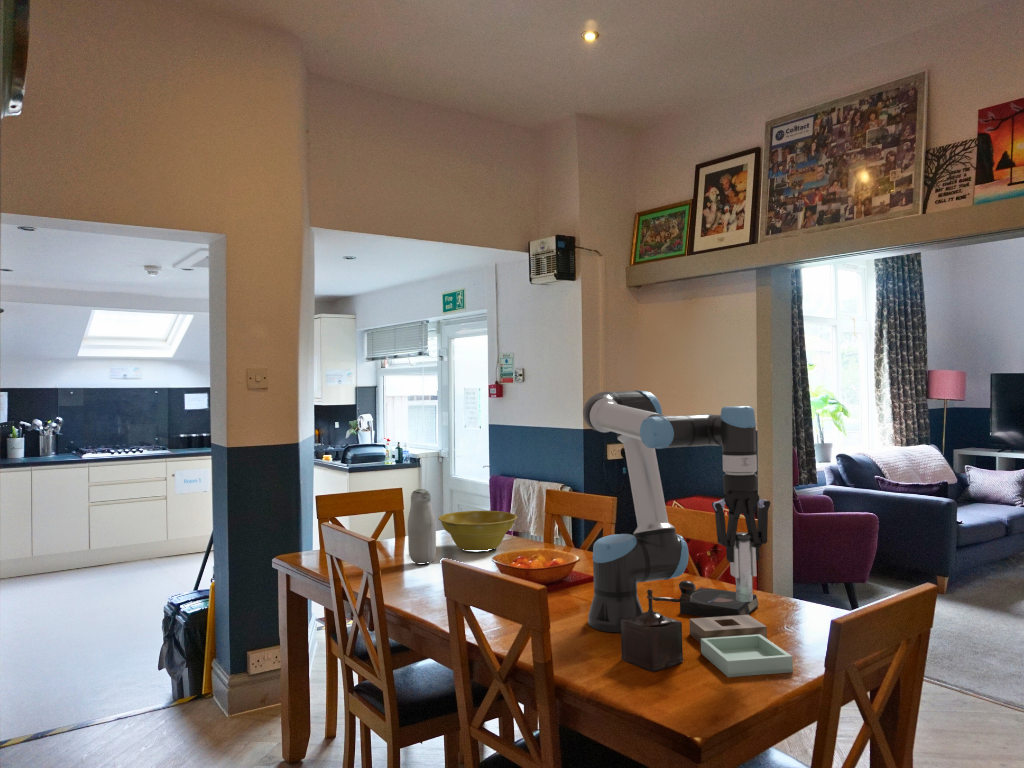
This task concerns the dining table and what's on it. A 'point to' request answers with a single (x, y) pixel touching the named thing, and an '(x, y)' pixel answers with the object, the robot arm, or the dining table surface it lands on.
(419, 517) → the grey bottle
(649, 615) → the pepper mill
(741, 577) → the clear capped cylinder
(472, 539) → the planter bowl
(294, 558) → the dining table surface
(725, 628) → the block
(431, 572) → the dining table surface
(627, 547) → the robot arm
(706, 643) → the tray
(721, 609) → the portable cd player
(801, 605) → the dining table surface
